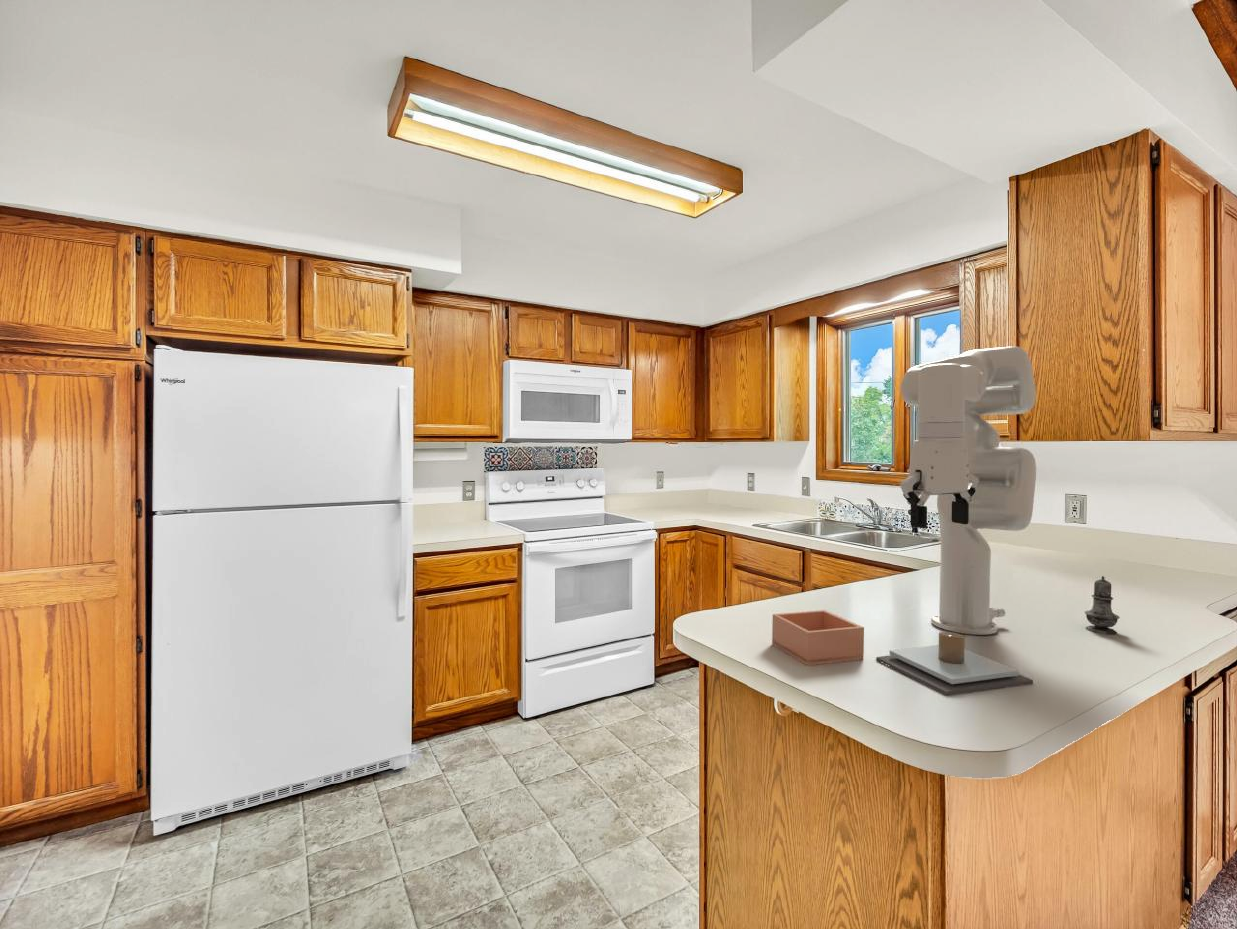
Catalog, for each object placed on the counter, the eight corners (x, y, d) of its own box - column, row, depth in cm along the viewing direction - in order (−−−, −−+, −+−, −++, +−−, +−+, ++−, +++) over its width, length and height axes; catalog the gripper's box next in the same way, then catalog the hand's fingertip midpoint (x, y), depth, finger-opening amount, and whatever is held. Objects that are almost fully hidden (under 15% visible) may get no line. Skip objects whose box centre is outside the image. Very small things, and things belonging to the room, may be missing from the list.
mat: (953, 651, 114) (954, 648, 114) (1032, 683, 98) (1032, 680, 98) (876, 660, 109) (876, 657, 109) (946, 695, 93) (946, 691, 93)
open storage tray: (823, 638, 121) (824, 610, 121) (863, 659, 109) (864, 627, 109) (772, 644, 117) (772, 614, 117) (807, 665, 106) (807, 632, 106)
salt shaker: (1115, 636, 123) (1117, 580, 123) (1080, 630, 128) (1082, 575, 127) (1121, 631, 127) (1123, 576, 127) (1087, 624, 131) (1089, 571, 131)
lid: (950, 651, 112) (951, 620, 112) (1018, 678, 99) (1019, 644, 99) (889, 657, 108) (890, 626, 108) (951, 687, 95) (952, 652, 95)
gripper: (959, 431, 113) (958, 519, 115) (887, 433, 108) (886, 525, 109) (995, 431, 106) (993, 524, 107) (919, 433, 101) (918, 532, 102)
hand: (939, 525), depth 108 cm, fingers open, 9 cm apart
